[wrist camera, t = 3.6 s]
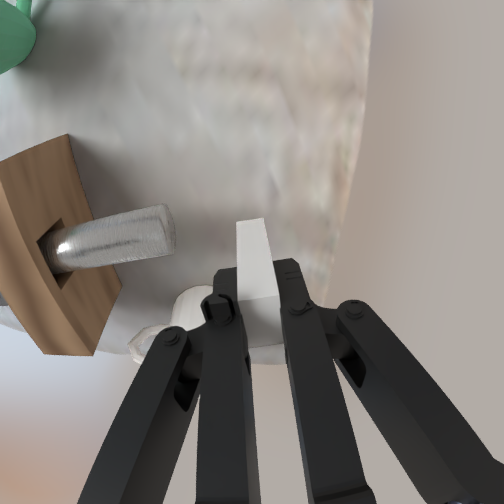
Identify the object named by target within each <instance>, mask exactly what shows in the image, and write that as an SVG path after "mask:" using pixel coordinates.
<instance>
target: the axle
mask: <svg viewBox="0 0 504 504" xmlns="http://www.w3.org/2000/svg"><path fill="white" fill-rule="evenodd" d="M36 243H37V245H38V247H39V249H40V251H41V253H42V256H43V258H44V260H45V262H46V264H47V266H48V268H49V270H50V271H51V273H52V275H53V274H59V273H65V272H70V271H76V270H82V269H88V268H94V267H99V266H105V265H111V264H117V263H123V262H129V261H135V260H141V259H147V258H153V257H159V256H165V255H171V254H173V253H174V251H175V246H176V235H175V227H174V222H173V218H172V215H171V212H170V210H169V208H168V207H167V205H166V204H160V205H155V206H151V207H146V208H142V209H137V210H133V211H128V212H124V213H120V214H116V215H112V216H107V217H103V218H99V219H96V220H92V221H88V222H84V223H80V224H77V225H73V226H69V227H66V228H62V229H59V230H55V231H52V232H48V233H45V234H43V235H42V236H41V237H40V238H39V239H38V240H37V241H36Z"/></svg>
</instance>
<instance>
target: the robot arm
mask: <svg viewBox="0 0 504 504" xmlns="http://www.w3.org/2000/svg"><path fill="white" fill-rule="evenodd" d="M236 232H237V267H234V268H227V269H220V270H218V271H217V273H216V274H215V276H214V281H213V292H212V294H210V295H208V296H206V297H205V298H204V299H203V300H202V302H201V304H200V307H201V310H202V313H203V315H204V318H205V321H206V322H205V323H204V324H202V325H201V326H199V327H197V328H194V329H192V330H189V331H186V330H185V329H184V328H182V327H179V326H170V327H167V328H165V329H163V330H162V331H160V332H159V333H158V335H157V336H156V337H155V339H154V341H153V343H152V345H151V347H150V349H149V351H148V353H147V355H146V356H145V358H144V360H143V362H142V364H141V366H140V368H139V370H138V372H137V374H136V376H135V378H134V380H133V382H132V384H131V386H130V388H129V390H128V392H127V394H126V396H125V398H124V400H123V402H122V404H121V406H120V408H119V410H118V412H117V414H116V416H115V419H114V421H113V423H112V425H111V427H110V429H109V431H108V434H107V436H106V438H105V440H104V442H103V444H102V446H101V449H100V451H99V453H98V455H97V458H96V460H95V462H94V464H93V467H92V469H91V471H90V474H89V476H88V478H87V481H86V483H85V485H84V488H83V490H82V493H81V495H80V498H79V500H78V503H77V504H163V500H164V497H165V495H166V491H167V489H168V485H169V483H170V480H171V477H172V474H173V471H174V468H175V465H176V462H177V460H178V457H179V454H180V451H181V448H182V445H183V442H184V439H185V435H186V433H187V430H188V427H189V424H190V422H191V419H192V416H193V413H194V410H195V407H196V404H197V401H198V398H199V395H200V402H199V420H198V442H197V444H198V445H197V472H196V502H195V504H261V496H260V484H259V473H258V459H257V446H256V433H255V419H254V407H253V406H254V405H253V391H252V378H251V363H250V356H249V352H248V346H249V348H254V347H261V346H269V345H275V344H282V343H284V347H285V358H286V364H287V368H288V373H289V380H290V386H291V391H292V397H293V404H294V410H295V416H296V423H297V429H298V435H299V442H300V448H301V455H302V461H303V468H304V474H305V481H306V489H307V496H308V503H309V504H377V503H376V500H375V496H374V493H373V491H372V489H371V488H370V487H369V486H368V485H367V482H366V480H365V476H364V472H363V468H362V464H361V460H360V456H359V452H358V448H357V444H356V440H355V436H354V432H353V428H352V425H351V421H350V417H349V414H348V410H347V407H346V403H345V399H344V396H343V392H342V389H341V386H340V382H339V379H338V375H337V372H336V368H335V365H334V362H333V359H334V361H335V363H336V364H337V366H338V367H339V369H340V370H341V372H342V373H343V375H344V376H345V378H346V379H347V381H348V383H349V384H350V386H351V387H352V389H353V390H354V392H355V393H356V395H357V396H358V398H359V400H360V401H361V403H362V404H363V406H364V407H365V409H366V410H367V412H368V413H369V415H370V416H371V418H372V420H373V421H374V423H375V424H376V426H377V428H378V429H379V431H380V432H381V434H382V435H383V437H384V438H385V440H386V442H387V443H388V445H389V446H390V448H391V449H392V451H393V452H394V454H395V455H396V457H397V459H398V460H399V462H400V464H401V465H402V467H403V468H404V470H405V471H406V473H407V475H408V476H409V478H410V479H411V481H412V482H413V484H414V486H415V487H416V489H417V491H418V492H419V494H420V495H421V496H422V498H423V499H424V500H425V502H426V503H427V504H504V464H502V463H500V462H499V461H497V460H495V459H494V458H493V457H492V455H491V454H490V452H489V451H488V450H487V448H486V447H485V445H484V444H483V443H482V442H481V440H480V439H479V437H478V436H477V434H476V433H475V432H474V430H473V429H472V428H471V426H470V425H469V424H468V422H467V421H466V420H465V419H464V417H463V416H462V415H461V413H460V412H459V411H458V409H457V408H456V407H455V406H454V405H453V403H452V402H451V401H450V399H449V398H448V397H447V396H446V394H445V393H444V392H443V391H442V389H441V388H440V387H439V386H438V385H437V383H436V382H435V381H434V380H433V378H432V377H431V376H430V375H429V374H428V372H427V371H426V370H425V369H424V368H423V366H422V365H421V364H420V363H419V362H418V361H417V359H416V358H415V357H414V356H413V355H412V354H411V352H410V351H409V350H408V349H407V348H406V347H405V345H404V344H403V343H402V342H401V341H400V340H399V339H398V337H397V336H396V335H395V334H394V333H393V332H392V331H391V330H390V328H389V327H388V326H387V325H386V324H385V323H384V322H383V321H382V320H381V318H380V317H379V316H378V315H377V314H376V313H375V312H374V311H373V310H372V309H371V307H370V306H369V305H367V304H366V303H365V302H363V301H359V300H348V301H345V302H343V303H341V304H340V305H339V307H338V308H337V309H329V308H323V307H320V306H317V305H316V304H314V302H313V301H312V300H311V299H310V297H309V293H308V290H307V287H306V284H305V281H304V278H303V275H302V272H301V269H300V267H299V264H298V263H297V262H296V261H295V260H294V259H293V258H289V259H283V260H276V261H272V257H271V252H270V247H269V243H268V238H267V233H266V229H265V224H264V219H263V218H259V219H252V220H246V221H239V222H236Z"/></svg>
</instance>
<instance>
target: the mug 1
mask: <svg viewBox="0 0 504 504" xmlns="http://www.w3.org/2000/svg"><path fill="white" fill-rule="evenodd" d="M31 4H32V0H17V3H16V7H15V6H13V5H11V4H10V3H8V2H6V1H5V0H0V74H2V73H4V72H6V71H8V70H9V69H11V68H13V67H14V66H16V65H18V64H19V63H21V62H22V61H23V60H25V59H26V57H27V56H28V55H29V54H30V52H31V50H32V49H33V46H34V43H35V40H36V29H35V27H34V25H33V24H32V23H31V22H30V15H31Z"/></svg>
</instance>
